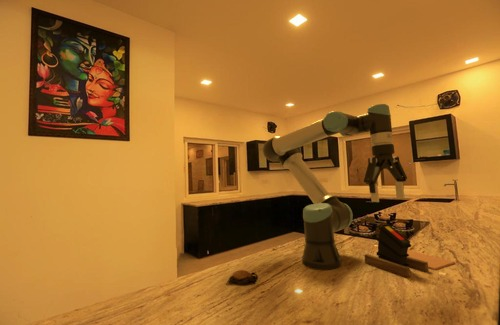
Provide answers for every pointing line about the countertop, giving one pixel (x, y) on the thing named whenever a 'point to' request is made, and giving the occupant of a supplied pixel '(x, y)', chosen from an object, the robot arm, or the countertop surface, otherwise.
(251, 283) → the brown toy turtle
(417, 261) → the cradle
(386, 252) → the magazine
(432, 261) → the mat
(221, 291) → the countertop surface
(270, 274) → the countertop surface
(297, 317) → the countertop surface
